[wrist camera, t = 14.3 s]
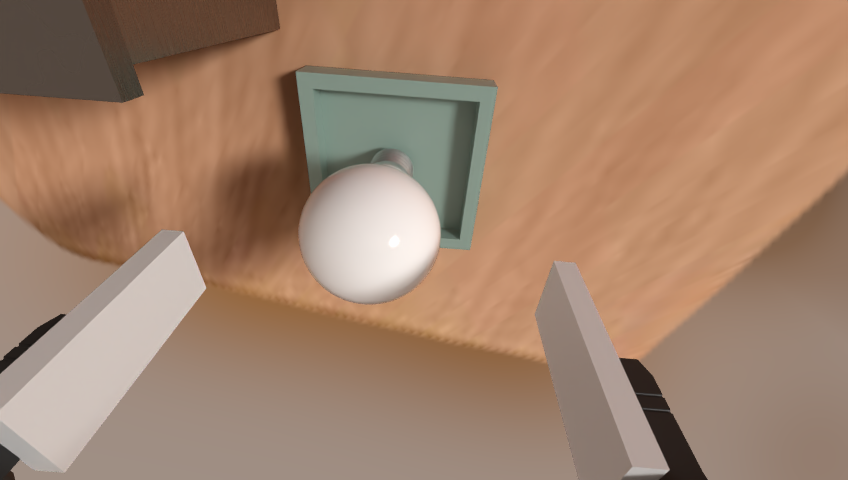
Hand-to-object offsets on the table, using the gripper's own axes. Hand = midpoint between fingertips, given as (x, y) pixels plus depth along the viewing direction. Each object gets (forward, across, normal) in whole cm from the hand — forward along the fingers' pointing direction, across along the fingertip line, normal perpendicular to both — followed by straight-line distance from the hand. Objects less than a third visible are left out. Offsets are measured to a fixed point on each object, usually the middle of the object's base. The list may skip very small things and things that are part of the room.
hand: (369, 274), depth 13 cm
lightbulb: (+12, 0, -1) cm, 12 cm away
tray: (+12, 0, -1) cm, 12 cm away
